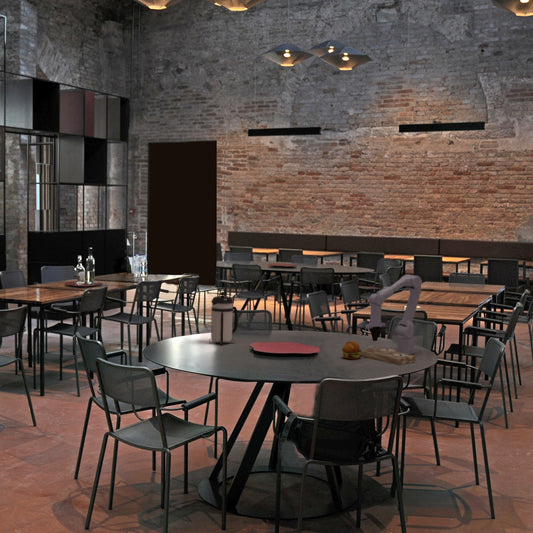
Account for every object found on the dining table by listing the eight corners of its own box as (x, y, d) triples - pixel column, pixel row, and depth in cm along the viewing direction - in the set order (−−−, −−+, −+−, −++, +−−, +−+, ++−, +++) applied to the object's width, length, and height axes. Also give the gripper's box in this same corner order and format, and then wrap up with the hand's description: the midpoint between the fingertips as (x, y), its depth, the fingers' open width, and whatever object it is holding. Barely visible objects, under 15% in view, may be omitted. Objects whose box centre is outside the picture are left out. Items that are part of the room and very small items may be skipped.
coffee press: (235, 346, 423) (236, 293, 420) (207, 345, 423) (208, 293, 421) (237, 340, 440) (238, 290, 438) (210, 339, 440) (211, 289, 438)
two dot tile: (386, 353, 402) (386, 348, 402) (395, 354, 398) (395, 349, 397) (379, 354, 398) (379, 349, 398) (387, 356, 394) (388, 351, 393)
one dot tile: (373, 350, 409) (374, 345, 409) (382, 352, 404) (382, 347, 404) (366, 351, 405) (366, 346, 405) (375, 353, 400) (375, 348, 400)
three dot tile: (399, 358, 395) (399, 353, 395) (408, 360, 391) (408, 355, 391) (392, 359, 392) (392, 354, 391) (401, 361, 387) (401, 356, 387)
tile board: (375, 352, 413) (375, 347, 413) (416, 361, 392) (416, 356, 392) (358, 355, 404) (359, 350, 404) (399, 365, 383) (399, 359, 383)
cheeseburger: (365, 357, 400) (364, 340, 397) (357, 365, 392) (356, 347, 389) (347, 354, 405) (346, 337, 402) (339, 362, 397) (338, 345, 394)
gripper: (372, 318, 395) (371, 343, 396) (390, 315, 405) (389, 340, 406) (362, 316, 400) (361, 341, 402) (380, 314, 410) (379, 338, 411)
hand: (374, 340), depth 404 cm, fingers closed
